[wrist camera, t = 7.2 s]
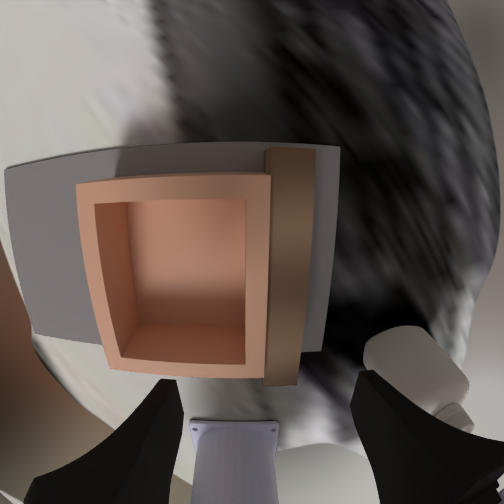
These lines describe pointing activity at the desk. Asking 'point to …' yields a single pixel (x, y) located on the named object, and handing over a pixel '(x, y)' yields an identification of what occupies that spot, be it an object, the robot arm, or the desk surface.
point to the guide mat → (132, 164)
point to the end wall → (288, 259)
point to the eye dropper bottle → (420, 372)
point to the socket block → (179, 271)
